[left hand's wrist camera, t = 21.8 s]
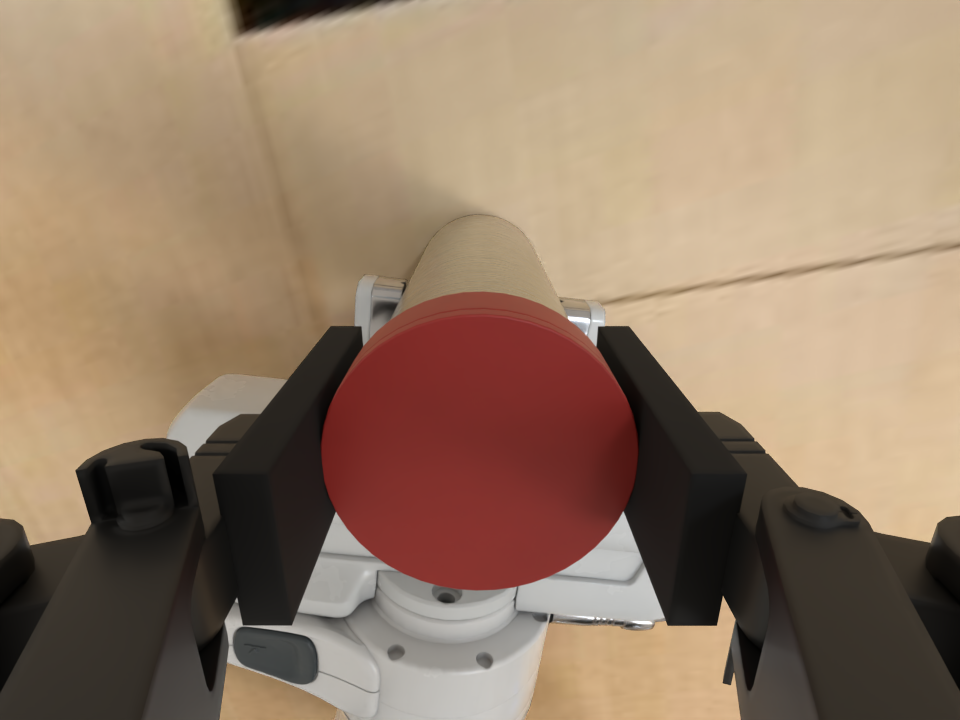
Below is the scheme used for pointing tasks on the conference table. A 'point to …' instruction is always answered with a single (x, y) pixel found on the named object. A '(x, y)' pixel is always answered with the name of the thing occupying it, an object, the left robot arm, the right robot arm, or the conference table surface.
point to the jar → (479, 264)
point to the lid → (479, 443)
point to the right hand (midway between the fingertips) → (481, 291)
